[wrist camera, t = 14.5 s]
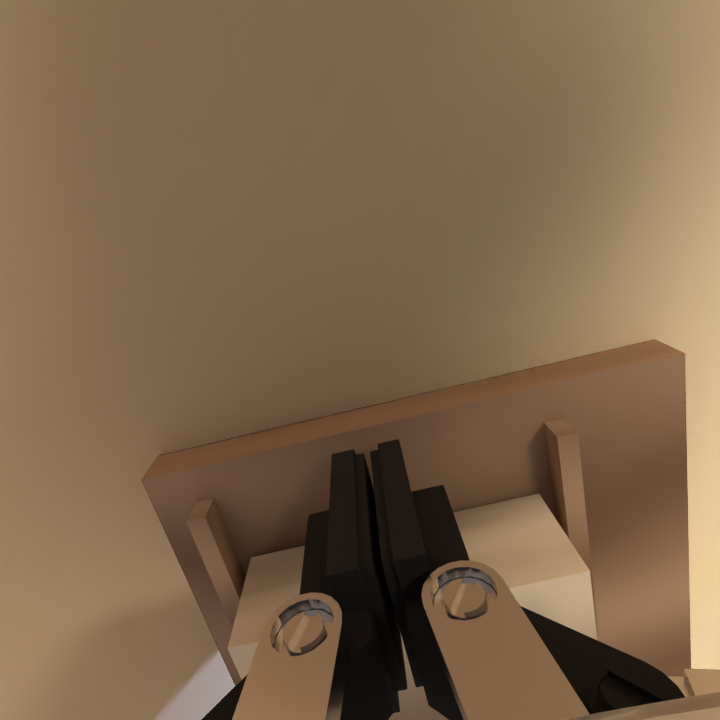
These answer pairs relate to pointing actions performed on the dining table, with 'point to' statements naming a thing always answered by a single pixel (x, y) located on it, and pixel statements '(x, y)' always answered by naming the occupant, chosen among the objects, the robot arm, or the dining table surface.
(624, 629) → the board
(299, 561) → the cream rectangular block
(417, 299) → the dining table surface
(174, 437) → the dining table surface
